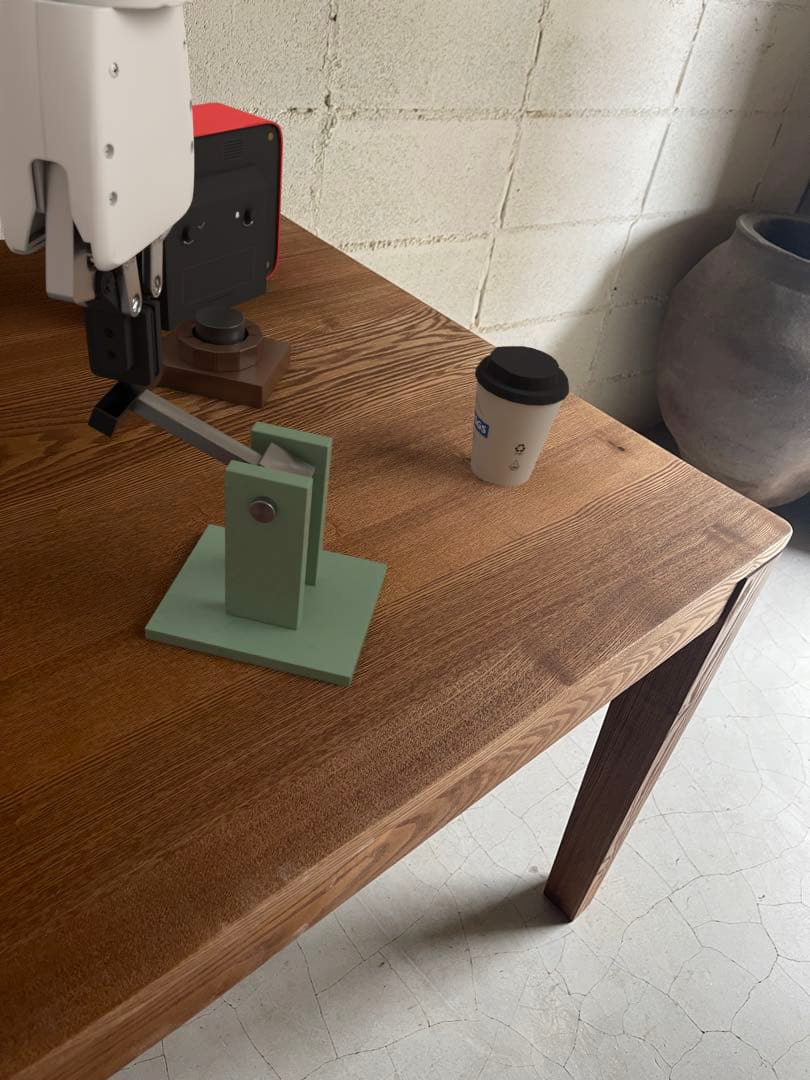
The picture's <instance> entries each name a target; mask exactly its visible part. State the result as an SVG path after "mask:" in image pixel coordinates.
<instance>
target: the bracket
mask: <svg viewBox="0 0 810 1080" xmlns="http://www.w3.org/2000/svg"><path fill="white" fill-rule="evenodd" d="M333 440H334V439H333V437H330V436H326V435H322V434H316V433H312V432H307V431H303V430H298V429H294V428H289V427H285V426H280V425H275V424H271V423H266V422H262V421H255V423H254V424H253V425H252V427H251V429H250V442H249V443H250V445H249V448H250V449H252V450H254V451H255V452H257V453H259V454H261V455H262V456H263V455H264V453H265V452H266V450H267V448H268V447H269V445H270V443H274V444H276V445H278V446H279V447H281V448H283V449H285V450H286V451H288V452H290V453H291V454H293V455H295V456H297V457H298V458H300V459H302V460H304V461H305V462H307V463H309V464H310V465H312V466H314V467H315V468H316V470H315V472H314V474H313V476H312V478H310V477H306V476H301V475H297V474H293V473H288V472H284V471H279V470H275V469H270V468H266V467H261V466H257V465H252V464H248V463H243V462H239V461H234V460H231V461H230V463H229V464H228V466H227V465H226V467H225V469H224V526H220V525H216V524H212V523H208V525H207V527H206V529H205V530H204V531H203V533H202V535H201V536H200V538H199V540H198V541H197V543H196V544H195V546H194V548H193V549H192V551H191V553H190V554H189V556H188V557H187V559H186V561H185V562H184V564H183V565H182V567H181V569H180V570H179V572H178V574H177V575H176V577H175V578H174V580H173V581H172V583H171V585H170V586H169V588H168V590H167V591H166V593H165V595H164V597H163V598H162V599H161V601H160V602H159V604H158V606H157V608H156V609H155V611H154V613H153V614H152V616H151V617H150V619H149V621H148V622H147V624H146V625H145V627H144V634H145V635H144V636H145V639H147V640H150V641H155V642H159V643H163V644H168V645H172V646H175V647H180V648H183V649H188V650H191V651H192V650H193V651H197V652H201V653H205V654H209V655H213V656H218V657H221V658H225V659H230V660H233V661H238V662H242V663H247V664H251V665H254V666H259V667H263V668H267V669H272V670H276V671H280V672H284V673H288V674H291V675H297V676H300V677H305V678H309V679H313V680H318V681H322V682H327V683H331V684H333V685H338V686H343V687H347V688H350V687H351V683H352V680H353V677H354V674H355V671H356V668H357V664H358V661H359V659H360V655H361V653H362V649H363V647H364V644H365V641H366V637H367V633H368V631H369V628H370V625H371V622H372V620H373V619H372V618H373V615H374V612H375V609H376V607H377V603H378V599H379V598H380V594H381V590H382V588H383V584H384V581H385V578H386V575H387V570H388V564H386V563H382V562H378V561H374V560H369V559H365V558H360V557H356V556H351V555H348V554H343V553H340V552H339V553H338V552H334V551H331V550H326V549H325V550H324V549H323V546H324V536H325V525H326V515H327V505H328V494H329V482H330V471H331V462H332V461H331V460H332V452H333V451H332V449H333V442H334V441H333Z"/></svg>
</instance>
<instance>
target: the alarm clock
mask: <svg viewBox="0 0 810 1080" xmlns="http://www.w3.org/2000/svg"><path fill="white" fill-rule="evenodd" d="M192 116H193V136H194V187H193V198H192V202H191V204H190V207H189V209H188V210H187V212H186V213H185V214H184V215H183V216H182V217H181V218H180V219H179V220H178V221H177V222H176V223H175V224H173V227H172V229H171V230H170V232H169V233H168V235H167V236H166V237H165V239H164V241H163V245H164V246H163V259H162V289H161V292H160V295H159V296H158V297H157V298H154V297H150V299H151V300H156V301H159V303H160V321H161V329H163V330H165V331H168V332H171V331H172V330H173V329H174V328H175V327H176V326H177V325H178V324H179V323H180V322H181V321H182V320H183V321H184V320H185V319H187V318H191V317H194V316H195V315H196V313H197V312H198V311H199V310H201V309H203V308H206V307H212V306H223V307H229V308H233V307H235V306H237V305H240V304H244V303H246V302H248V301H250V300H253V299H255V298H258V297H261V296H264V295H265V294H267V280H269V279H270V278H271V277H273V275H274V274H275V272H276V270H277V268H278V263H279V258H280V242H281V241H280V239H281V217H282V216H281V214H282V213H281V212H282V187H283V162H284V136H283V130H282V127H281V126H280V124H279V123H277V122H275V121H272V120H270V119H267V118H264V117H262V116H258V115H255V114H253V113H249V112H246V111H244V110H241V109H238V108H236V107H233V106H229V105H227V104H224V103H221V102H213V101H212V102H205V103H199V104H193V105H192ZM93 266H94V267H96V266H95V265H93Z"/></svg>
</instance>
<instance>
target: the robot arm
mask: <svg viewBox="0 0 810 1080" xmlns="http://www.w3.org/2000/svg"><path fill="white" fill-rule="evenodd" d="M193 2H194V0H0V225H1V229H2V230H1V231H2V234H3V239H4V241H5V244H6V245H7V247H8V249H9V250H10V251H11V252H12V253H14V254H18V255H30V254H32V253H35V252H37V251H38V250H40V249H42V248H44V247H45V290H46V295H47V297H48V298H49V299H54V300H58V301H63V302H67V303H72V304H77V305H78V306H80V307H82V309H83V310H82V311H83V319H84V327H85V337H86V347H87V354H88V361H89V362H88V364H89V369H90V372H91V373H92V374H93V375H94V376H95V377H99V378H103V379H109V380H113V381H116V382H118V381H122V382H126V383H131V384H136V385H140V386H148V385H149V384H150V383H151V382H152V381H153V380H154V377H155V376H157V375H158V374H159V373H160V372H161V371H162V369H163V357H162V341H163V339H162V327H161V321H160V303H159V301H156V300H151V299H150V297H154V298H157V297H158V296H159V295H160V292H161V289H162V259H163V246H164V245H163V241H164V239H165V237H166V236H167V235H168V233H169V232H170V230H171V229H172V227H173V224H175V223H176V222H177V221H178V220H179V219H180V218H181V217H182V216H183V215H184V214H185V213H186V212H187V210H188V209H189V207H190V204H191V202H192V198H193V187H194V136H193V116H192V104H193V103H192V87H191V77H190V74H191V73H190V63H189V52H188V43H187V42H188V41H187V36H186V35H187V34H186V33H187V32H186V25H185V17H184V9H183V8H184V7H183V6H185V5H190V4H191V3H193ZM93 265H95V266H96V267H94V266H93Z"/></svg>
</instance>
